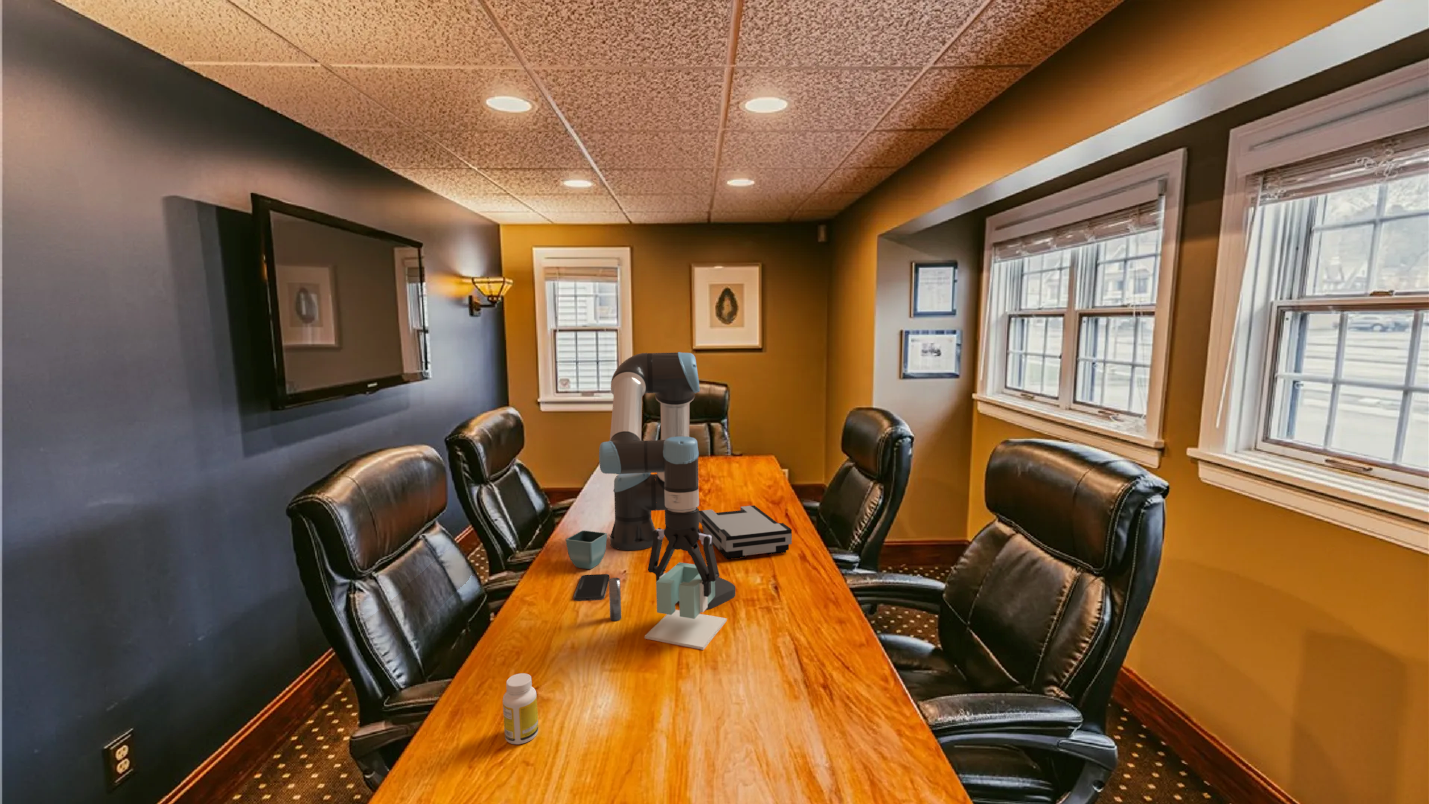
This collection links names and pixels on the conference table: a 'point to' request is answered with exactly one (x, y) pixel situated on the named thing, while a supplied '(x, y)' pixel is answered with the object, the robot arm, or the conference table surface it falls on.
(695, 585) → the green u-shaped block
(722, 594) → the media streaming box
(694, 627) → the mat
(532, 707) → the supplement bottle
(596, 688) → the conference table surface
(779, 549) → the game console
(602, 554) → the flower pot
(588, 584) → the phone
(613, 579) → the grey cylinder
